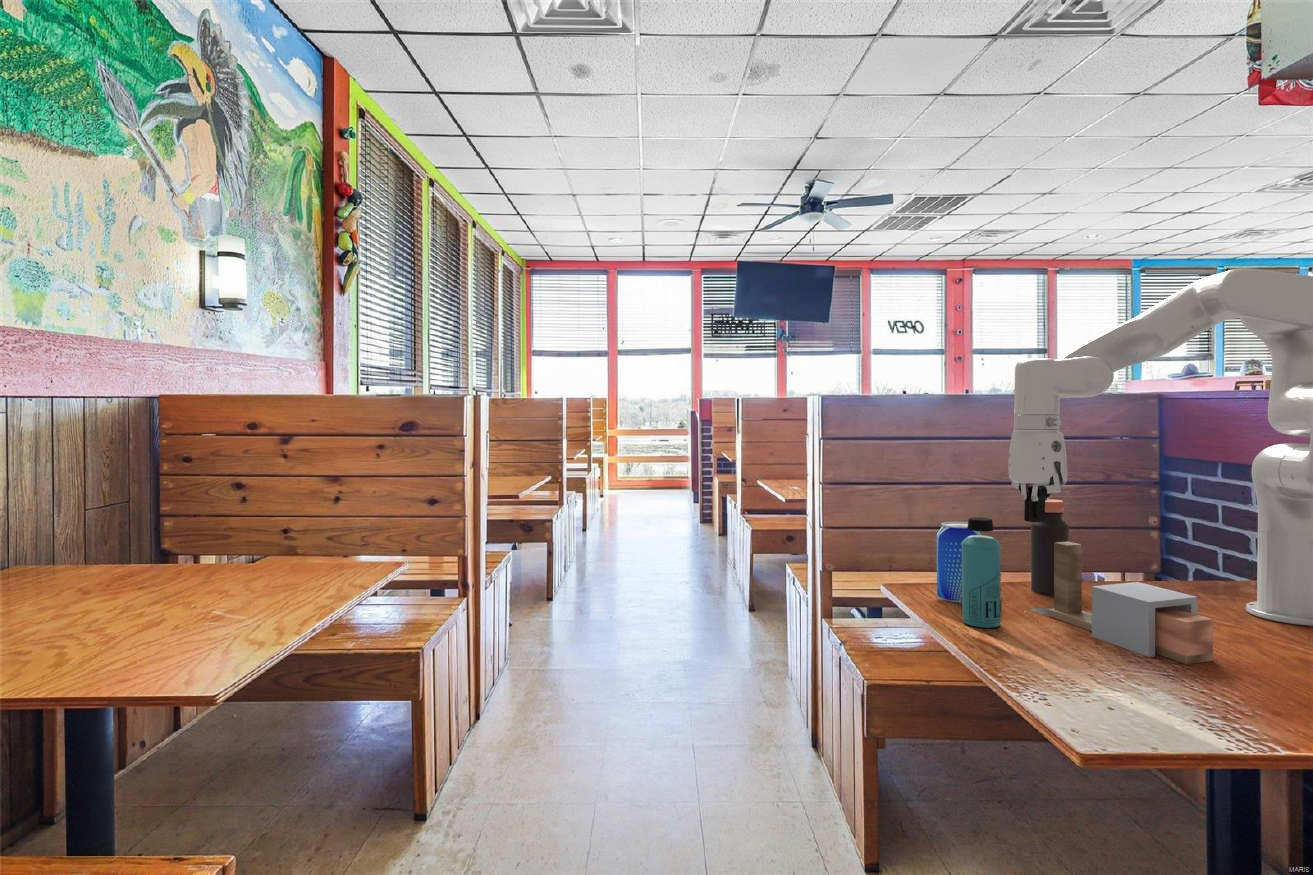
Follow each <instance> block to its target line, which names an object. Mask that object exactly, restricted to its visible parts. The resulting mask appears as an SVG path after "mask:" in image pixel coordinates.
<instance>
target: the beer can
mask: <svg viewBox="0 0 1313 875" xmlns="http://www.w3.org/2000/svg"><path fill="white" fill-rule="evenodd" d="M940 524H941V526H940V528H939V530H938V531H937V533H936V596H937V598H939V599H940V601H942V600H944V601H947V602H953V603H962V595H961V594H962V545H961V542H962V541H963V540H964V539H965V538H967V537H968V536H972V535H981V536H983V535H982V534H981V531H972V530H968V529H967V527H968V521H967V522H965V521H945V522H942V523H940Z"/></svg>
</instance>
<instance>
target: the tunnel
mask: <svg viewBox="0 0 1313 875" xmlns="http://www.w3.org/2000/svg"><path fill="white" fill-rule="evenodd" d="M1198 601H1199V600H1198V596H1195V595H1190V594H1187V593H1183V592H1179V591H1176V590H1171V589H1167V588H1163V587H1160V586H1155V585H1151V584H1147V583H1144V582H1140V581H1132V582H1123V583H1113V584H1112V583H1111V584H1102V585H1101V584H1100V585H1095V586H1094V585H1093V586H1091V614H1092V631H1091V638H1095V639H1098V640H1100V641H1103V642H1107V643H1109V644H1112V645H1114V646H1118V647H1120V648H1123V649H1125V650H1129V651H1130V652H1134V653H1136V654H1139V655H1142V656H1145V657H1148V658H1150V657H1155V656H1156V653H1155V608H1160V607H1171V608H1175V609H1178V610H1182V611H1185V612H1189V613H1193V614H1196V615H1198V609H1199V608H1198V606H1199V605H1198Z"/></svg>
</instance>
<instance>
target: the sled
mask: <svg viewBox="0 0 1313 875" xmlns="http://www.w3.org/2000/svg"><path fill="white" fill-rule="evenodd" d="M1082 546H1083V545H1082V544H1081V543H1077V542H1072V541H1069V542H1055V543H1054V596H1053V605H1054V606H1053V607H1054V608H1052V609H1047V615H1046V616H1047V617H1051V618H1054V619H1056V620H1060V621H1062V622H1065V623H1067V624H1071V625H1074V626H1076V627H1080V628H1083V629H1085V630H1086V631H1091V632H1092V612H1088V611H1084V610H1082V609H1083V607H1082V606H1083V604H1082V602H1083V600H1082V598H1083V597H1082V596H1083V595H1082V594H1083V592H1082V591H1083V590H1082V589H1083V587H1082V586H1083V584H1082V582H1083V580H1082V578H1083V576H1082V575H1083V574H1082V572H1083V571H1082V569H1083V568H1082V567H1083V566H1082V564H1083V561H1082V560H1083V558H1082V556H1083V551H1082V550H1083V547H1082ZM1155 655H1158V656H1162V657H1165V658H1168V659H1169V660H1173V661H1175V662H1178V663H1181V664H1185V665H1191V664H1198V663H1205V662H1213V661H1214V618H1211V617H1207V616H1204V615H1199V614H1197V615H1196V614H1193V613H1189V612H1185V611H1182V610H1178V609H1175V608H1171V607H1160V608H1155Z"/></svg>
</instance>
